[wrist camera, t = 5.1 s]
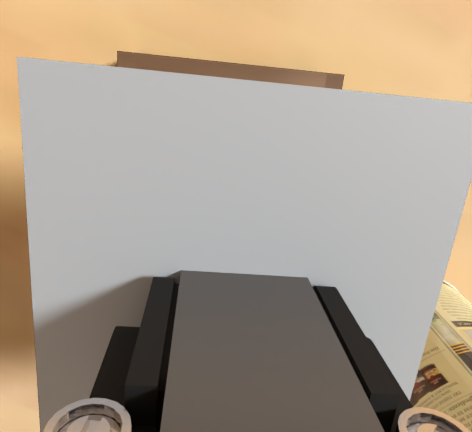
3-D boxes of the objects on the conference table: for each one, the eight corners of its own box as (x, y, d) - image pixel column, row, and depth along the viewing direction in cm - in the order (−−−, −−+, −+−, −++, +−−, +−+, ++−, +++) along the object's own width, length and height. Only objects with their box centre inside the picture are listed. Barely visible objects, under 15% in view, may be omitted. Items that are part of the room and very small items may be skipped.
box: (286, 264, 28) (303, 305, 23) (132, 255, 27) (116, 296, 22) (316, 72, 24) (344, 74, 19) (135, 53, 23) (117, 50, 18)
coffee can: (428, 402, 33) (580, 634, 19) (307, 373, 31) (384, 607, 18) (496, 291, 29) (732, 477, 16) (366, 252, 28) (512, 425, 14)
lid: (369, 475, 14) (476, 735, 9) (55, 470, 13) (-55, 761, 8) (466, 102, 11) (770, 134, 5) (35, 58, 10) (-215, 35, 4)
